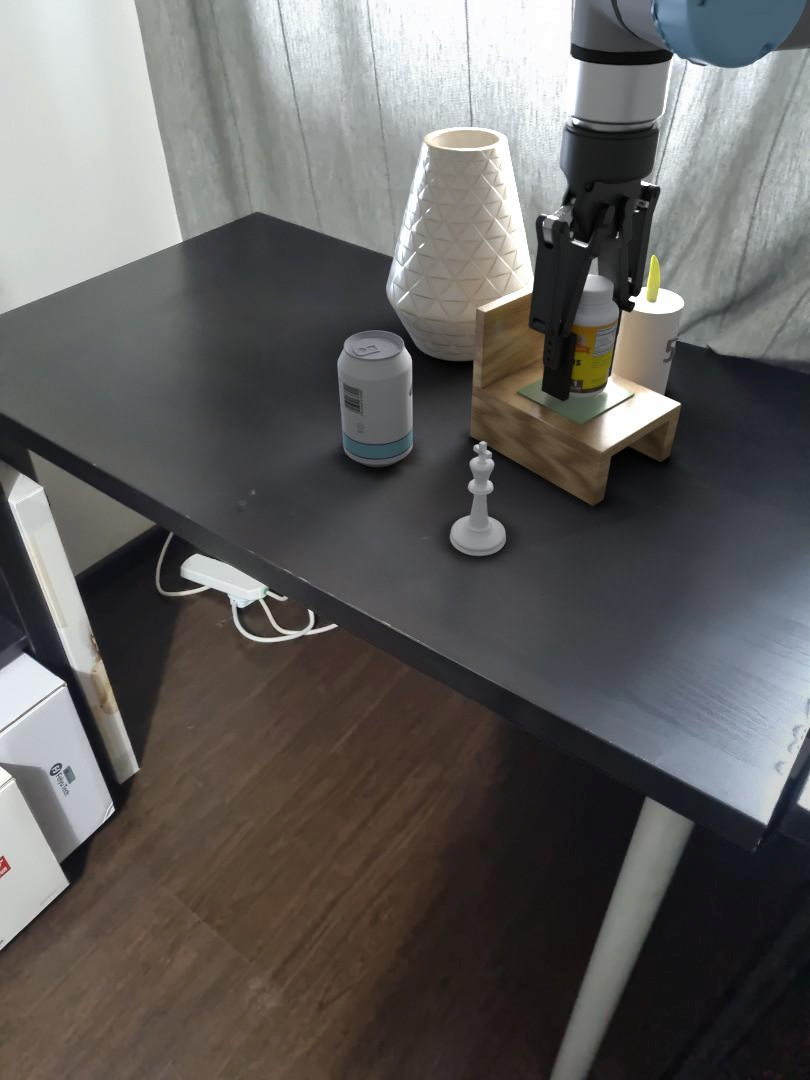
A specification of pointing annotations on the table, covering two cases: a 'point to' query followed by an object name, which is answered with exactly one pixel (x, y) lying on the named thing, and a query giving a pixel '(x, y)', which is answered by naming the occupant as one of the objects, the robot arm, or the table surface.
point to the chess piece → (479, 512)
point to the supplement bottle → (594, 337)
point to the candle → (649, 335)
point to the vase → (457, 240)
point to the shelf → (556, 407)
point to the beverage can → (376, 398)
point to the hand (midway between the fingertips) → (576, 382)
